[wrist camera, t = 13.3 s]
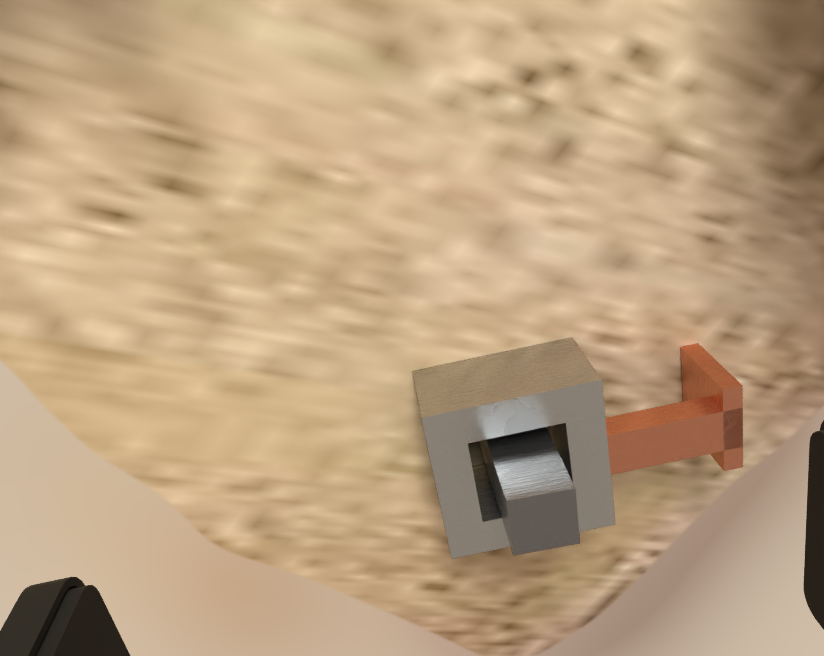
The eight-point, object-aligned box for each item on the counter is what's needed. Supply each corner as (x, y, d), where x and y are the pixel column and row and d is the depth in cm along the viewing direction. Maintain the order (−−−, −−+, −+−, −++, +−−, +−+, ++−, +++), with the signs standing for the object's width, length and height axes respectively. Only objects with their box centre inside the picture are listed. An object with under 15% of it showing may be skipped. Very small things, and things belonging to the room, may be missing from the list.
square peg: (529, 393, 41) (575, 488, 33) (534, 440, 43) (580, 543, 34) (473, 403, 41) (506, 501, 33) (480, 450, 42) (513, 555, 34)
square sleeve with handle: (440, 501, 44) (451, 558, 39) (412, 371, 40) (421, 417, 35) (701, 446, 44) (742, 497, 39) (697, 311, 40) (742, 350, 35)
